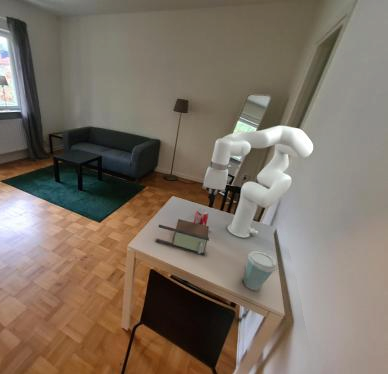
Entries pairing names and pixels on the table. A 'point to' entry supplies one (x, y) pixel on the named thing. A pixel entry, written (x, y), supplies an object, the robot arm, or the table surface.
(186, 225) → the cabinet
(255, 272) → the disposable coffee cup
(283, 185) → the robot arm
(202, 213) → the soda can
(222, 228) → the table surface
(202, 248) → the pale green block
